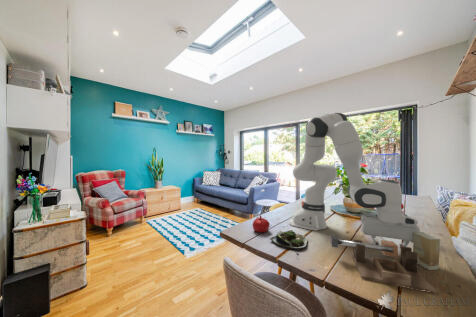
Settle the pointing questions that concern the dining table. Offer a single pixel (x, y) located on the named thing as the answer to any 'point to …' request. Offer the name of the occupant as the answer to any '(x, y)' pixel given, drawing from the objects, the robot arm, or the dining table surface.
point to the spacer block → (390, 244)
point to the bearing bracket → (391, 269)
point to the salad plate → (290, 240)
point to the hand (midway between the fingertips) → (389, 247)
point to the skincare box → (426, 250)
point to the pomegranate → (260, 224)
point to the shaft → (336, 241)
